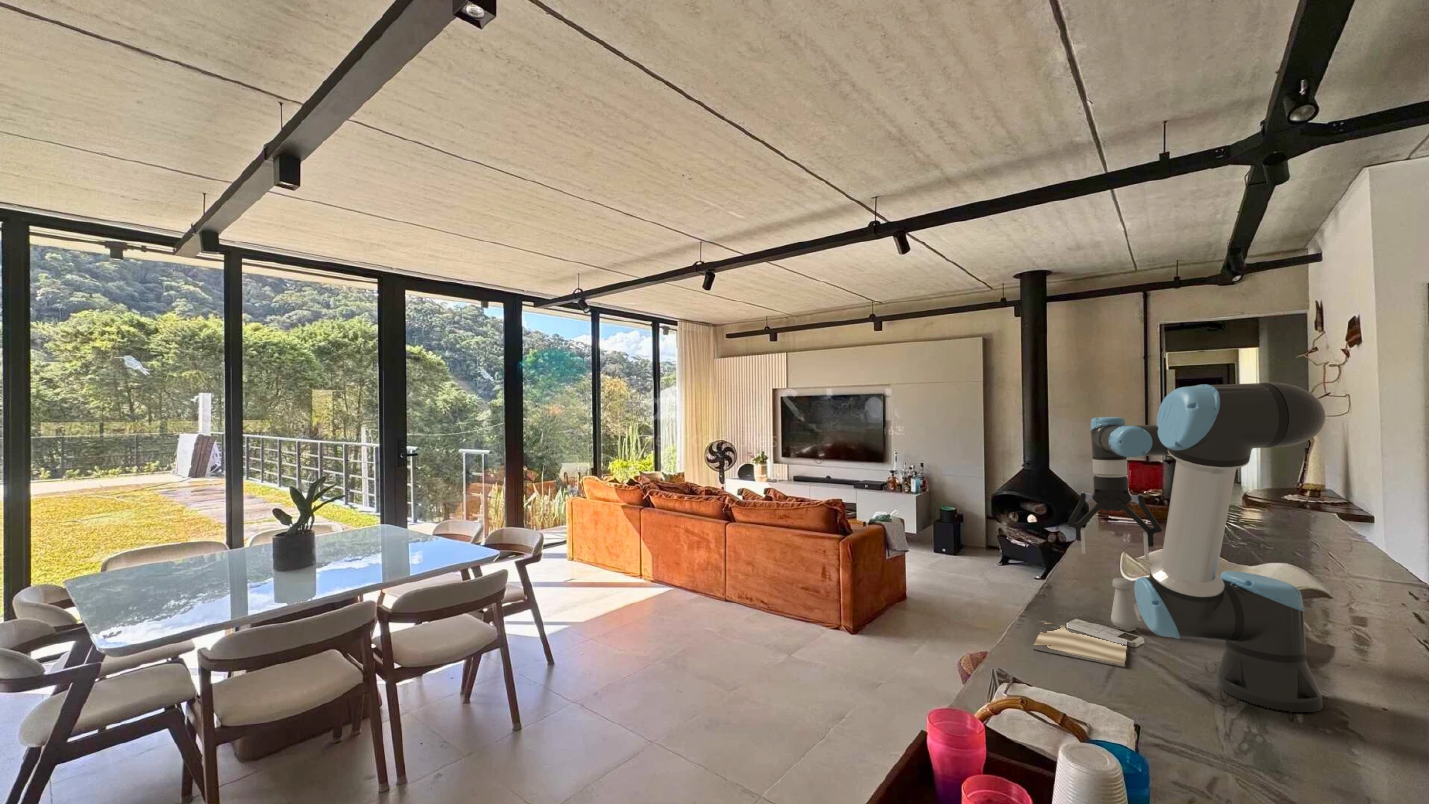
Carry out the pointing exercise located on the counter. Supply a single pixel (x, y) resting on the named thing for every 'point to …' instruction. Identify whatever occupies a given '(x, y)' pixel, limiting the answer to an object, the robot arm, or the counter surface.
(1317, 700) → the robot arm
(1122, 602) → the salt shaker
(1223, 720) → the counter surface
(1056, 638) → the open book
